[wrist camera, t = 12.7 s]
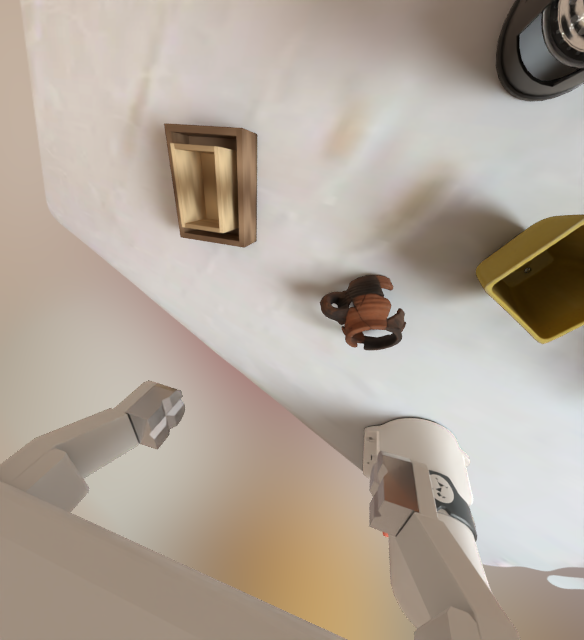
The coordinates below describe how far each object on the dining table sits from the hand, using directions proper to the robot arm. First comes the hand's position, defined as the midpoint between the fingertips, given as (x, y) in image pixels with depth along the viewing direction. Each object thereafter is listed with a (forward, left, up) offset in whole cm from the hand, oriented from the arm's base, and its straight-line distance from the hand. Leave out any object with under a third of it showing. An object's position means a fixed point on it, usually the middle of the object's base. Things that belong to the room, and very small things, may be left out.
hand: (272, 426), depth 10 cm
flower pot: (+2, -20, -29) cm, 36 cm away
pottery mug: (-7, -4, -29) cm, 31 cm away
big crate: (+6, +18, -29) cm, 35 cm away
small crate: (+6, +18, -28) cm, 34 cm away
